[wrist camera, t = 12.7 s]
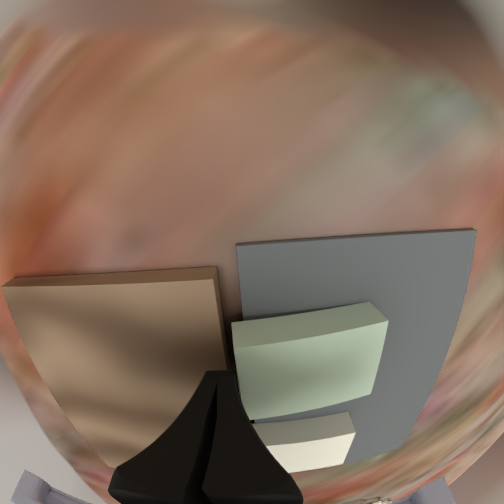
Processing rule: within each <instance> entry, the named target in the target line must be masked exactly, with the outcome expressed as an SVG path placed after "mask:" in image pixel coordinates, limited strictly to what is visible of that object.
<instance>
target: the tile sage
mask: <svg viewBox="0 0 504 504" xmlns="http://www.w3.org/2000/svg"><path fill="white" fill-rule="evenodd" d="M388 321H389V320H388V319H387V318H386V317H385V316H384V315H383V314H382V313H381V312H380V311H379V310H378V309H377V308H376V307H375V306H374V305H373V304H372V303H370V302H369V301H368V302H363V303H358V304H353V305H348V306H342V307H337V308H331V309H325V310H319V311H313V312H307V313H300V314H294V315H287V316H280V317H272V318H265V319H257V320H248V321H239V322H231V324H232V336H233V347H234V354H235V361H236V368H237V375H238V381H239V388H240V394H241V400H242V404H243V406H244V409H245V411H246V413H247V415H248V417H249V419H250V420H254V419H262V418H269V417H275V416H282V415H287V414H293V413H298V412H303V411H308V410H313V409H317V408H322V407H326V406H330V405H334V404H338V403H342V402H345V401H349V400H352V399H356V398H359V397H363V396H366V395H369V394H371V391H372V388H373V385H374V381H375V377H376V374H377V370H378V366H379V362H380V358H381V354H382V350H383V346H384V341H385V336H386V332H387V327H388Z"/></svg>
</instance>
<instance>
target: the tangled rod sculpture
mask: <svg viewBox="0 0 504 504" xmlns="http://www.w3.org/2000/svg"><path fill="white" fill-rule="evenodd" d="M378 503H379V504H390V503H392V501H388V500H386V501H383V502H381V501H377V502H375V503H372V504H378Z"/></svg>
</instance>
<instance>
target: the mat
mask: <svg viewBox="0 0 504 504" xmlns="http://www.w3.org/2000/svg"><path fill="white" fill-rule="evenodd" d="M476 233H477V230H475V229H455V230H437V231H419V232H402V233H385V234H369V235H353V236H338V237H323V238H308V239H294V240H279V241H266V242H252V243H239V244H236V251H237V262H238V273H239V283H240V293H241V303H242V313H243V321H248V320H257V319H265V318H272V317H280V316H287V315H294V314H300V313H307V312H313V311H319V310H325V309H331V308H337V307H342V306H348V305H353V304H358V303H363V302H368V301H369V302H370V303H372V304H373V305H374V306H375V307H376V308H377V309H378V310H379V311H380V312H381V313H382V314H383V315H384V316H385V317H386V318H387V319H388V320H389V321H388V327H387V332H386V336H385V341H384V346H383V350H382V354H381V358H380V362H379V366H378V370H377V374H376V377H375V381H374V385H373V388H372V391H371V394H369V395H366V396H363V397H359V398H356V399H352V400H349V401H345V402H342V403H338V404H334V405H330V406H326V407H322V408H317V409H313V410H308V411H303V412H298V413H293V414H287V415H282V416H275V417H269V418H262V419H254V422H255V424H258V423H272V422H283V421H292V420H301V419H308V418H315V417H321V416H327V415H333V414H338V413H343V412H349V415H350V418H351V421H352V423H353V426H354V429H355V432H356V433H355V436H354V438H353V441H352V443H351V446H350V448H349V450H348V453H347V455H346V457H345V460H344V462H343V464H346V463H350V462H354V461H358V460H362V459H365V458H369V457H373V456H376V455H379V454H382V453H386V452H389V451H392V450H395V449H397V448H400V447H401V445H402V444H403V442H404V440H405V439H406V437H407V435H408V434H409V432H410V430H411V429H412V427H413V425H414V423H415V422H416V420H417V418H418V416H419V414H420V412H421V410H422V409H423V407H424V405H425V403H426V401H427V399H428V397H429V394H430V392H431V390H432V388H433V386H434V384H435V381H436V379H437V377H438V375H439V372H440V370H441V367H442V365H443V362H444V360H445V357H446V355H447V352H448V349H449V347H450V344H451V341H452V338H453V335H454V332H455V329H456V326H457V322H458V319H459V316H460V312H461V309H462V305H463V301H464V297H465V293H466V289H467V285H468V280H469V275H470V271H471V265H472V260H473V254H474V247H475V240H476ZM339 465H341V464H339ZM335 466H337V465H335ZM330 467H332V466H330ZM324 468H327V467H324ZM319 469H322V468H319ZM313 470H316V469H313ZM306 471H310V470H306ZM299 472H303V471H299ZM291 473H296V472H291Z"/></svg>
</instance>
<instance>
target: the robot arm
mask: <svg viewBox="0 0 504 504" xmlns="http://www.w3.org/2000/svg"><path fill="white" fill-rule="evenodd" d="M108 492H109V494H110V495H111V496H112V497H113V498H114V499H116V500H117V501H118V502H120V503H121V504H303V496H302V493H301V491H300V490H299V488H298V486H297V485H296V483H295V481H294V480H293V478H292V477H291V475H290V474H289V473H288V472H287V471H286V470H285V469H284V468H283V467H282V466H281V465H280V463H279V462H278V461H277V460H276V459H275V458H274V456H273V455H272V454H271V453H270V451H269V450H268V448H267V447H266V446H265V444H264V443H263V442H262V440H261V439H260V437H259V435H258V434H257V432H256V430H255V429H254V427H253V425H252V423H251V421H250V419H249V417H248V415H247V413H246V411H245V409H244V406H243V404H242V401H241V398H240V395H239V388H238V382H237V376H236V371H234V370H217V371H206V372H205V374H204V376H203V378H202V380H201V382H200V384H199V385H198V387H197V389H196V391H195V392H194V394H193V395H192V397H191V399H190V400H189V402H188V403H187V405H186V406H185V407H184V409H183V410H182V411H181V413H180V414H179V415H178V417H177V418H176V419H175V420H174V422H173V423H172V424H171V425H170V426H169V427H168V428H167V429H166V430H165V431H164V432H163V433H162V434H161V435H160V436H159V437H158V438H157V439H156V440H155V441H154V442H153V443H152V444H150V445H149V446H148V447H146V448H145V449H144V450H142V451H141V452H140V453H139V454H137V455H136V456H134V457H133V458H131V459H129V460H128V461H126V462H124V463H123V464H121V465H119V466H117V467H116V470H115V471H114V473H113V476H112V479H111V482H110V485H109V488H108ZM11 502H12V503H14V504H91V503H88V502H85V501H82V500H80V499H78V498H75V497H73V496H70V495H68V494H66V493H63V492H61V491H59V490H57V489H55V488H53V487H51V486H50V485H49V484H48V483H47V482H45V481H44V480H43V479H41V478H39V477H38V476H36V475H34V474H32V473H30V472H29V471H27V470H24V472H23V474H22V476H21V478H20V480H19V483H18V485H17V487H16V489H15V491H14V494H13V496H12V498H11ZM390 504H456V502H455V500H454V498H453V496H452V493H451V492H450V489H449V487H448V485H447V483H446V481H445V478H444V477H440V478H438V479H436V480H434V481H432V482H430V483H428V484H426V485H424V486H422V487H420V488H418V489H417V490H415V491H414V492H413V493H412V494H411V495H410V496H408V497H405V498H403V499H400V500H398V501H395V502H392V503H390Z"/></svg>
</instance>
